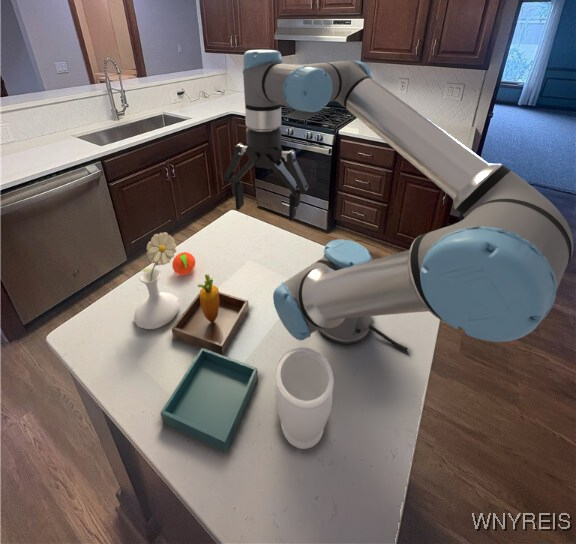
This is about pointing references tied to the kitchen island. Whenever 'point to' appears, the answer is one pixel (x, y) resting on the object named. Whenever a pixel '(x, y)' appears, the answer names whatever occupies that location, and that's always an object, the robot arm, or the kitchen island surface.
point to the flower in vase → (157, 304)
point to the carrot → (209, 299)
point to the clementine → (183, 263)
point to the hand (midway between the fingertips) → (265, 212)
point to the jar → (303, 395)
